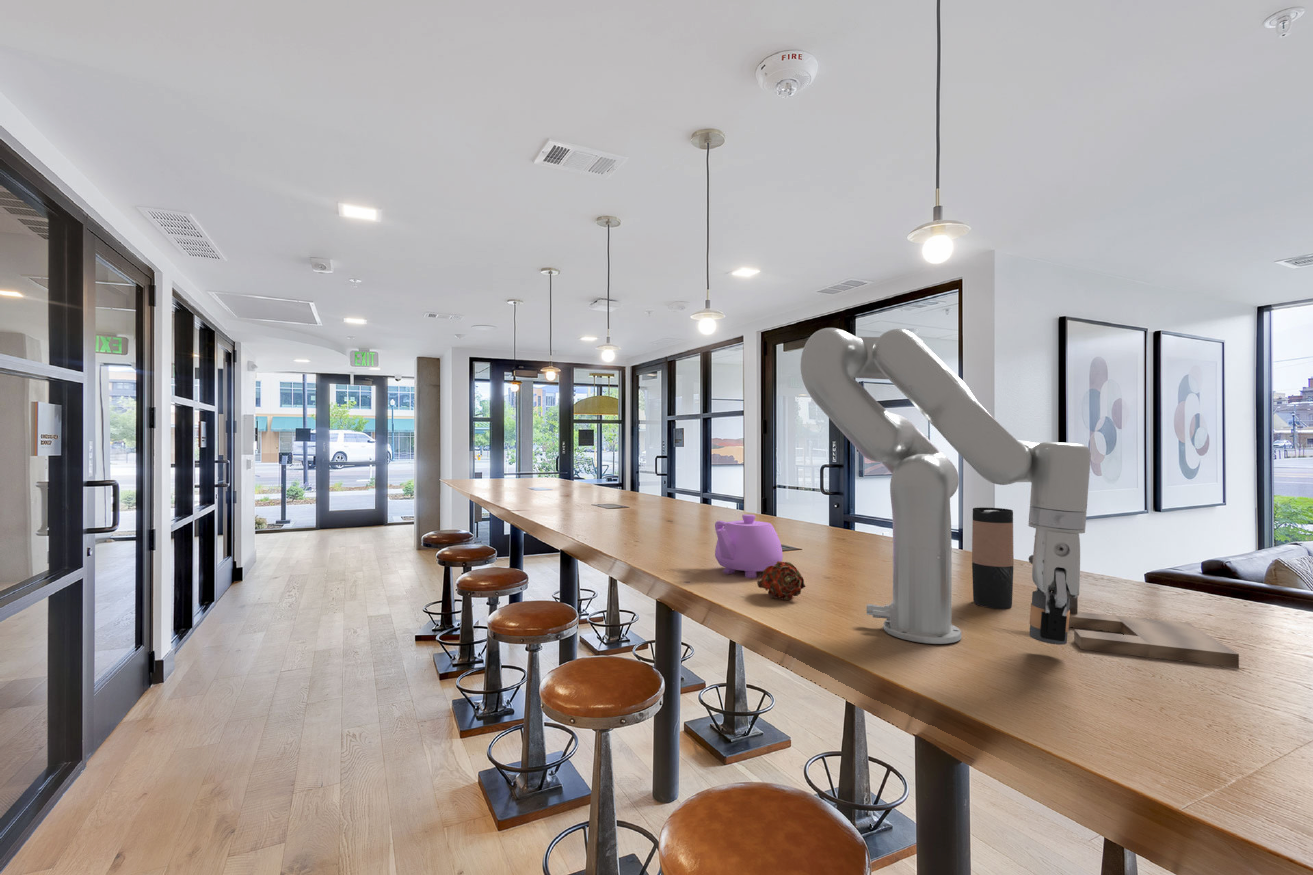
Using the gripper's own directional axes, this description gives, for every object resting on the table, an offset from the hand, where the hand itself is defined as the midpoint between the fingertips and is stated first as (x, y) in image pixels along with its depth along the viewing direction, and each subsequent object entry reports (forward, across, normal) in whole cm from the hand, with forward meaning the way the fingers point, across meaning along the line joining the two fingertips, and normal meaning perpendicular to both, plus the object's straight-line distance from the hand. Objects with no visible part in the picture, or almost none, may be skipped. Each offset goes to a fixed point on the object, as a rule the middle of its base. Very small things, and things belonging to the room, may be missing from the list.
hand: (1048, 632), depth 96 cm
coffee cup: (+1, 0, 0) cm, 1 cm away
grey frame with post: (+3, +15, -13) cm, 20 cm away
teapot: (+8, +40, +61) cm, 73 cm away
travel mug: (+4, +32, +4) cm, 32 cm away
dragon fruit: (+7, +19, +46) cm, 50 cm away
